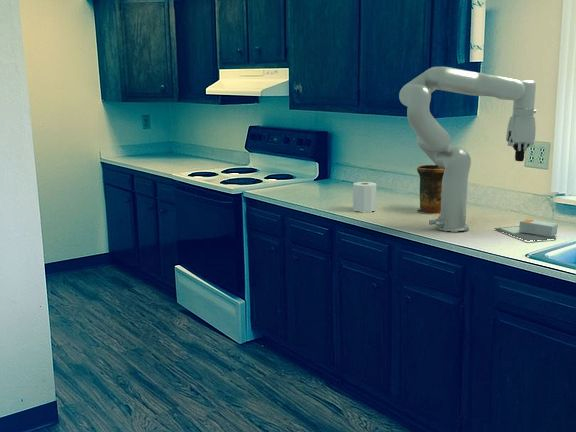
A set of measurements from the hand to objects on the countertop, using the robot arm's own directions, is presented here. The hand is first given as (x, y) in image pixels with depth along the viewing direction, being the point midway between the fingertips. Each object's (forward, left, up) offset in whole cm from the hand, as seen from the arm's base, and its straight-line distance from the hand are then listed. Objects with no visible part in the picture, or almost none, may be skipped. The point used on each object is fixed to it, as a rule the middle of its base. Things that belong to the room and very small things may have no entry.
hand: (519, 160), depth 244 cm
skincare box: (-5, -11, -23) cm, 26 cm away
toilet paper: (-45, +45, -26) cm, 69 cm away
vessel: (-18, +33, -26) cm, 45 cm away
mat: (-6, -14, -26) cm, 30 cm away
